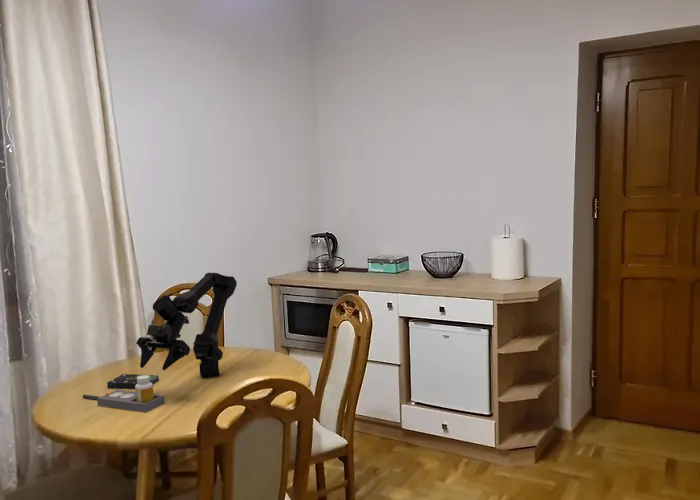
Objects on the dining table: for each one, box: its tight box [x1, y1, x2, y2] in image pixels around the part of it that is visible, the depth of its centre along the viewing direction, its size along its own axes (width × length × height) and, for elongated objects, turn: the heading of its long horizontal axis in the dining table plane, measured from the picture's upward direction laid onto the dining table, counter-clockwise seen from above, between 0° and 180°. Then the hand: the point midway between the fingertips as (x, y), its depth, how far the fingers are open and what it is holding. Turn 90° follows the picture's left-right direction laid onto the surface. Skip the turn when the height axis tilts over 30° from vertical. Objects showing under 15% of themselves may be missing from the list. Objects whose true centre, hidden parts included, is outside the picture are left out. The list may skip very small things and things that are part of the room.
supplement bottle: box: [134, 374, 154, 403], centre depth 204 cm, size 5×5×10 cm
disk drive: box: [106, 373, 160, 390], centre depth 228 cm, size 10×3×15 cm
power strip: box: [82, 389, 166, 413], centre depth 209 cm, size 31×9×3 cm, turn 66°
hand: (152, 368), depth 207 cm, fingers open, 9 cm apart
